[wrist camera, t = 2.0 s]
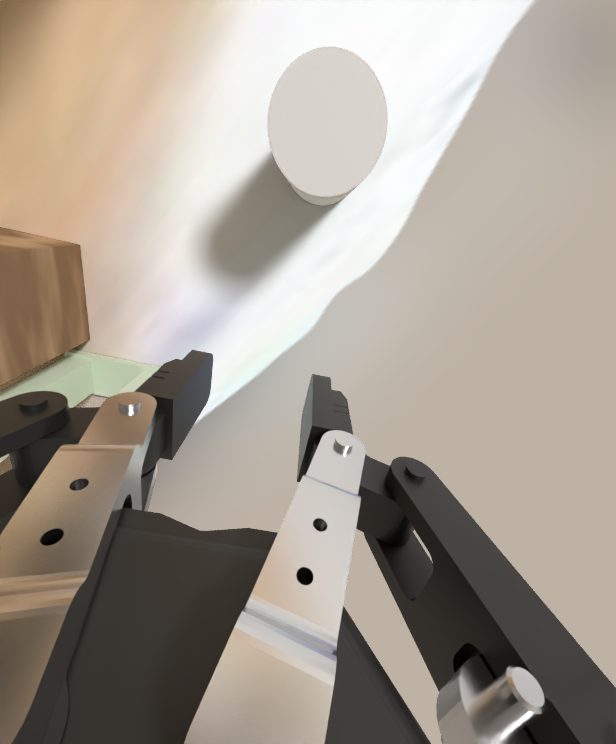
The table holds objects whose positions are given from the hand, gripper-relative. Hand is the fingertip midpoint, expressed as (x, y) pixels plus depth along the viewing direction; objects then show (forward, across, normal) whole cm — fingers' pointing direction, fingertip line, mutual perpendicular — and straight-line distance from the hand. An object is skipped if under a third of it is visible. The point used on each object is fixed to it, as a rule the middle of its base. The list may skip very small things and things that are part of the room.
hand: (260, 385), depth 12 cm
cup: (+27, 0, +12) cm, 30 cm away
